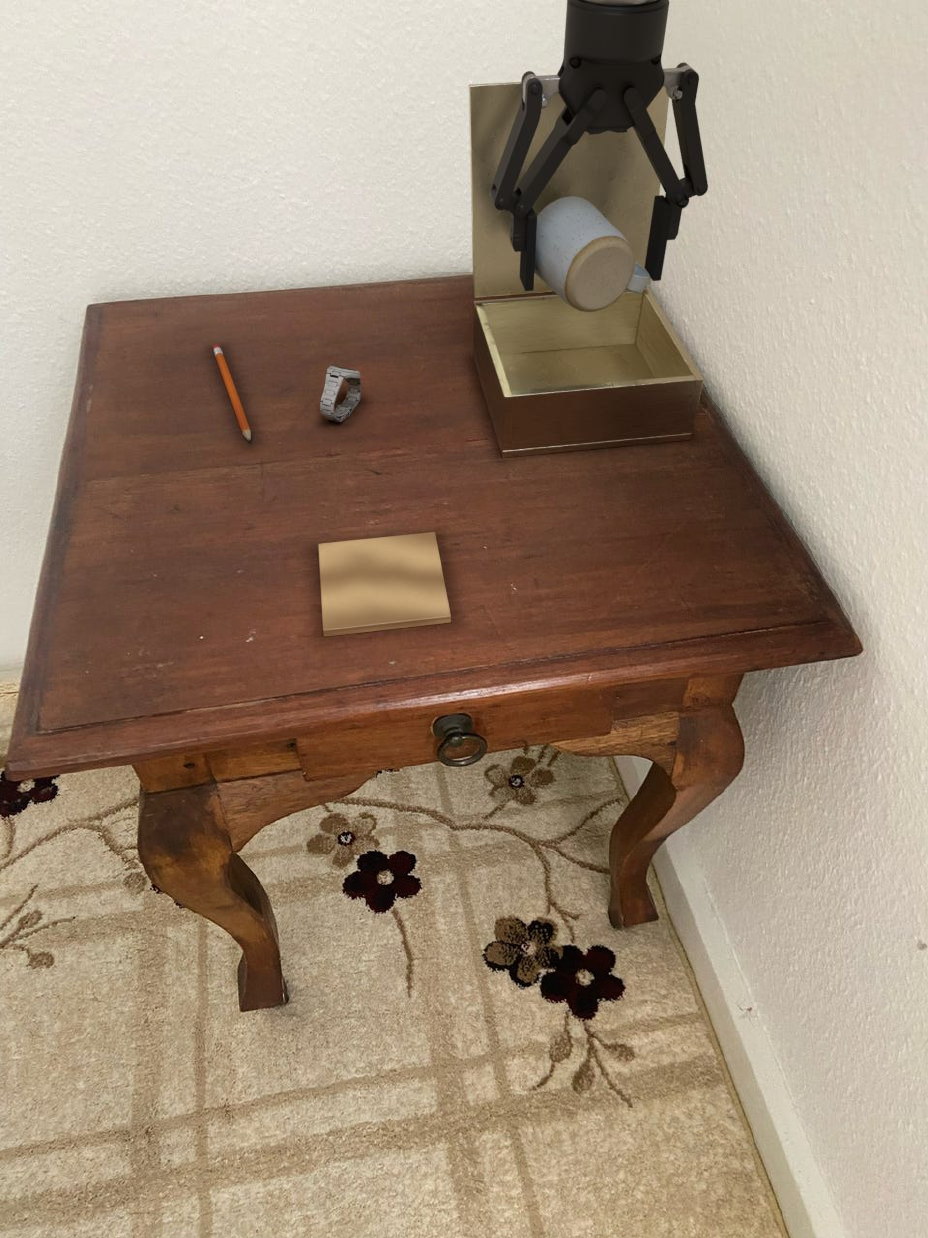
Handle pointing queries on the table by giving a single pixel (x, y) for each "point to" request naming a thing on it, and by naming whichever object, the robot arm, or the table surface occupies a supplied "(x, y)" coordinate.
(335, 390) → the wristwatch
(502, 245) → the box lid
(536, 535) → the table surface
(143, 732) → the table surface
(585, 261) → the ceramic mug
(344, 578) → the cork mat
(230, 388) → the pencil
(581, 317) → the open metal box
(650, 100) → the robot arm
